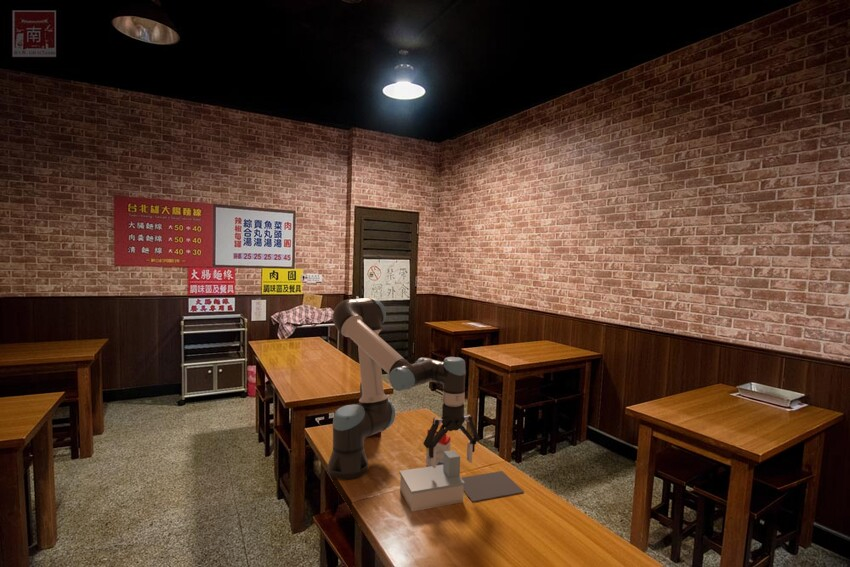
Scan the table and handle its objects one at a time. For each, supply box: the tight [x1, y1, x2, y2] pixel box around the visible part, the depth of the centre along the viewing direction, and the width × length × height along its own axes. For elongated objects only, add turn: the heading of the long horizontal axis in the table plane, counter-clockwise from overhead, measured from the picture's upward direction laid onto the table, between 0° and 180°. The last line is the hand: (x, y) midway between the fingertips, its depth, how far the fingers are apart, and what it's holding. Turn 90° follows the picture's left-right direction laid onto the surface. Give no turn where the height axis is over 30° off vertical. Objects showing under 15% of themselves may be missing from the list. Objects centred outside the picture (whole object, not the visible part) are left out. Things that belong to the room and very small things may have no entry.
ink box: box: [425, 429, 451, 467], centre depth 163 cm, size 8×5×15 cm, turn 65°
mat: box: [461, 470, 525, 503], centre depth 150 cm, size 20×15×1 cm
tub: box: [399, 476, 464, 512], centre depth 142 cm, size 18×13×6 cm
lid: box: [399, 449, 465, 494], centre depth 142 cm, size 19×14×9 cm
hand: (451, 463), depth 144 cm, fingers open, 13 cm apart
